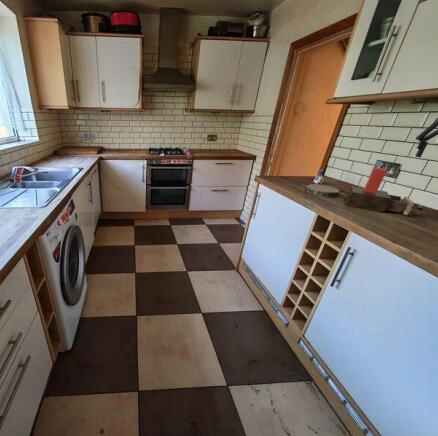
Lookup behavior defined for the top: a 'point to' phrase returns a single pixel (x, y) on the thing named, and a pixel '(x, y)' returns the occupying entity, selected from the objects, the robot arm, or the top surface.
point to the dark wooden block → (367, 199)
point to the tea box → (375, 180)
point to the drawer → (401, 205)
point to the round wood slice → (322, 190)
